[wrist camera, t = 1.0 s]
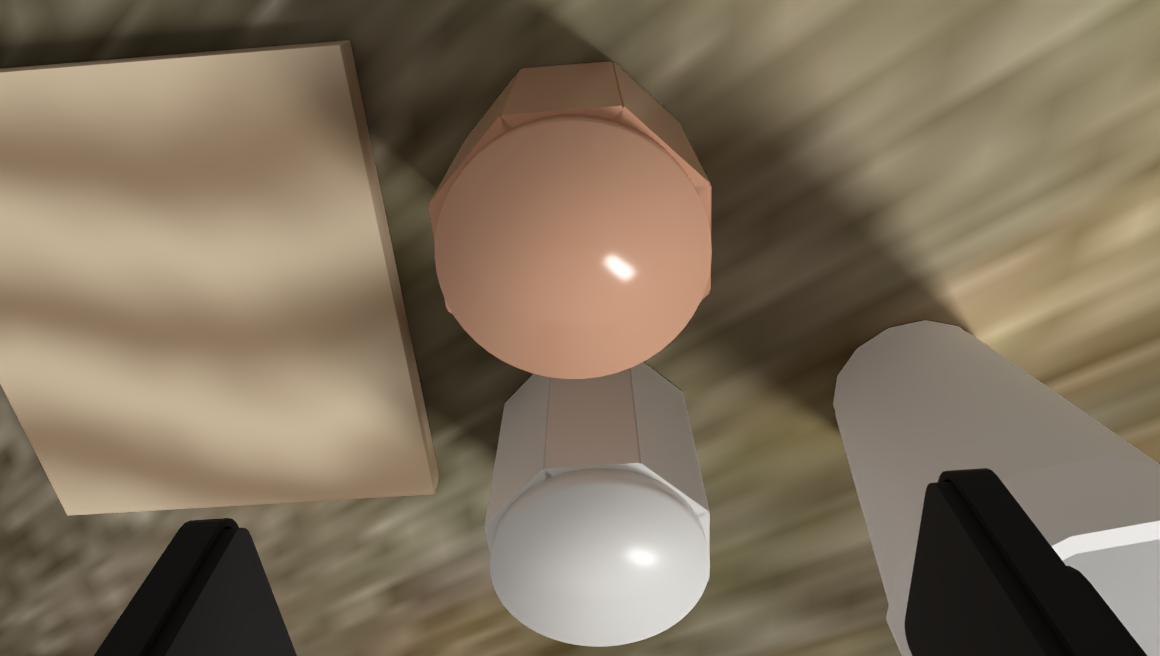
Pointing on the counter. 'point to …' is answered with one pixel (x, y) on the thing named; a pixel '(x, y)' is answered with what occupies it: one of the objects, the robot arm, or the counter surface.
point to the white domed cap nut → (598, 508)
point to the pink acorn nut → (574, 224)
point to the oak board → (204, 284)
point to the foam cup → (995, 464)
